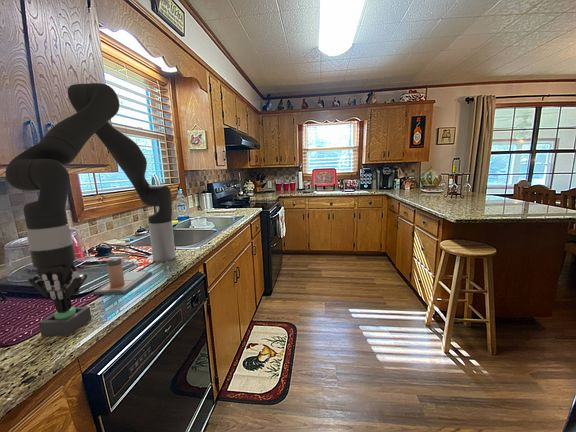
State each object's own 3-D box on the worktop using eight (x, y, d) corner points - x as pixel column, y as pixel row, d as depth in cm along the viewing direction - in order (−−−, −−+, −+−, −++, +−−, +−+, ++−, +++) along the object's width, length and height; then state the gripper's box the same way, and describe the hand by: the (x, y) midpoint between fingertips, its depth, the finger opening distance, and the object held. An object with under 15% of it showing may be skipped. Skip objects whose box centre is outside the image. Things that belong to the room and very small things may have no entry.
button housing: (66, 319, 66) (64, 307, 66) (91, 318, 66) (89, 306, 66) (41, 335, 60) (38, 322, 59) (69, 335, 60) (66, 322, 59)
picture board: (126, 274, 95) (125, 271, 95) (151, 273, 95) (151, 271, 95) (93, 294, 80) (93, 291, 79) (124, 294, 80) (124, 290, 79)
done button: (65, 313, 64) (64, 306, 64) (80, 313, 64) (79, 306, 64) (50, 322, 61) (49, 315, 60) (66, 322, 61) (65, 315, 60)
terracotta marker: (110, 284, 84) (106, 259, 83) (124, 281, 86) (121, 257, 85) (110, 289, 81) (106, 262, 79) (124, 285, 83) (121, 260, 81)
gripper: (91, 240, 63) (101, 303, 66) (40, 240, 63) (52, 303, 66) (65, 249, 55) (78, 319, 58) (6, 249, 55) (22, 320, 58)
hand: (64, 311), depth 62 cm, fingers closed
